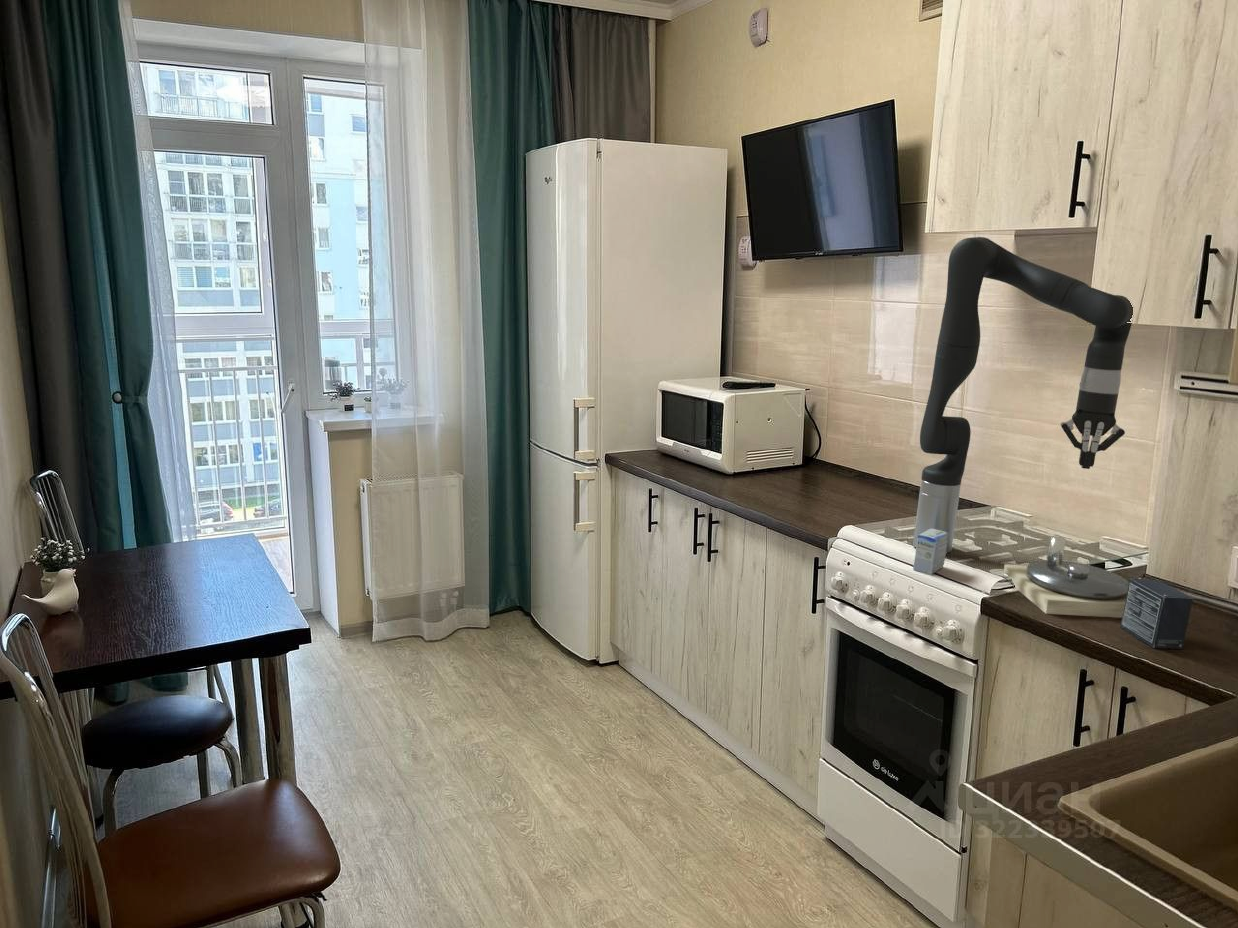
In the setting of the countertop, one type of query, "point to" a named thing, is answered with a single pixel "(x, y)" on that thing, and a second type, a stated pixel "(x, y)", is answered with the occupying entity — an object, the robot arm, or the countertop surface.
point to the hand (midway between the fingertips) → (1085, 467)
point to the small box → (1156, 613)
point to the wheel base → (1062, 598)
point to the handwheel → (1075, 576)
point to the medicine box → (930, 551)
